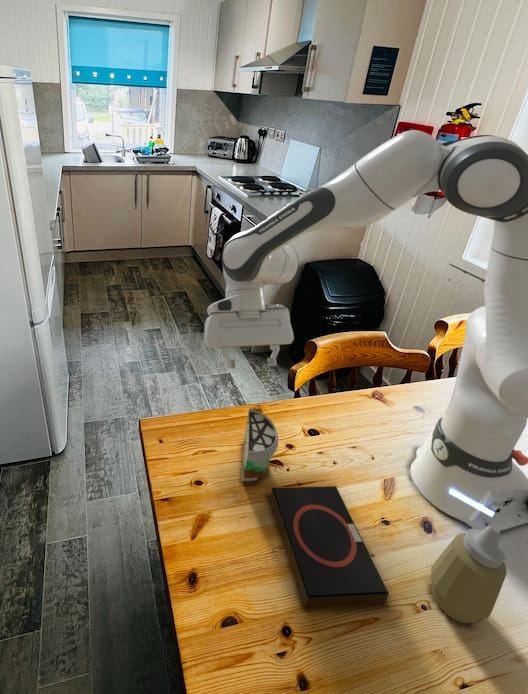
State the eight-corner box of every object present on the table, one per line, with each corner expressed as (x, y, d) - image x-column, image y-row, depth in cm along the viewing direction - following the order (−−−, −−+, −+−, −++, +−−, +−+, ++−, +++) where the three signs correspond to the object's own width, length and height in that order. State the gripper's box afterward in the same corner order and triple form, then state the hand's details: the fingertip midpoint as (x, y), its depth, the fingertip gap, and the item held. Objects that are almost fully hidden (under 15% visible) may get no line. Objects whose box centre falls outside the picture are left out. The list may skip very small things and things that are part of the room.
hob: (333, 495, 78) (336, 484, 77) (384, 604, 62) (389, 592, 61) (269, 497, 77) (272, 486, 76) (304, 608, 61) (308, 596, 60)
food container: (273, 496, 78) (281, 460, 74) (241, 489, 79) (248, 453, 75) (270, 445, 89) (278, 411, 85) (243, 440, 90) (249, 406, 86)
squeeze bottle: (417, 599, 63) (455, 526, 56) (431, 561, 68) (467, 490, 61) (478, 647, 58) (529, 573, 51) (488, 602, 63) (535, 529, 56)
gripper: (282, 306, 96) (290, 365, 92) (200, 308, 93) (204, 369, 89) (293, 301, 90) (302, 364, 86) (206, 304, 87) (211, 369, 83)
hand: (252, 367), depth 88 cm, fingers open, 8 cm apart
